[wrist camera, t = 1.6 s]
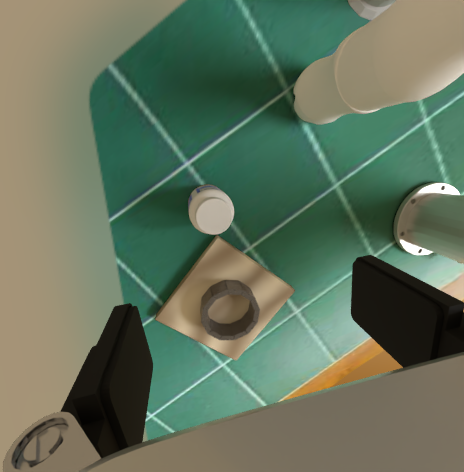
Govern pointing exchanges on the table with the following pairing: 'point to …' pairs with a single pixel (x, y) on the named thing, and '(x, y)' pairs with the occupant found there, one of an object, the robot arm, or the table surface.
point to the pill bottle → (210, 209)
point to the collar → (237, 327)
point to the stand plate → (228, 307)
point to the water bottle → (386, 62)
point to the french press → (370, 7)
